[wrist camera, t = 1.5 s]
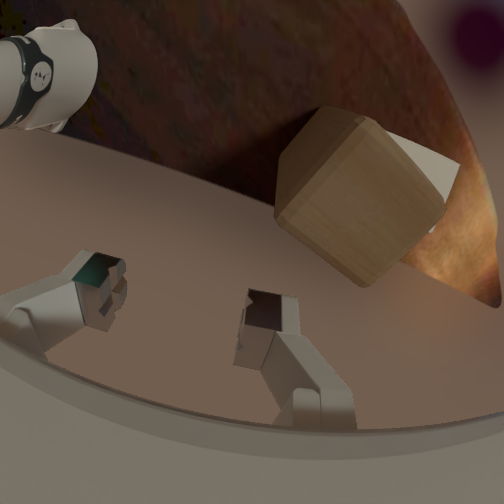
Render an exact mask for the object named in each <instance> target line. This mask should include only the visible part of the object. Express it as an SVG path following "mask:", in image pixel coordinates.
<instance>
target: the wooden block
mask: <svg viewBox="0 0 504 504" xmlns="http://www.w3.org/2000/svg"><path fill="white" fill-rule="evenodd" d="M446 210H447V208H446V205H445V202H444V198H443V197H442V195H441V194H440V193H439V191H438V190H437V189H436V188H435V186H434V185H433V184H432V183H431V181H430V180H429V179H428V178H427V177H426V175H425V174H424V173H423V172H422V171H421V169H420V168H419V167H418V166H417V165H416V164H415V162H414V161H413V160H412V159H411V158H410V157H409V156H408V155H407V153H406V152H405V151H404V150H403V149H402V148H401V147H400V146H399V145H398V144H397V143H396V142H395V141H394V139H393V138H392V137H391V136H390V135H389V134H388V133H387V132H386V131H385V130H384V129H383V128H382V127H381V126H380V125H379V124H378V123H377V122H376V121H375V120H373V119H370V118H368V117H366V116H363V115H360V114H356V113H353V112H350V111H347V110H343V109H340V108H336V107H332V106H329V105H324V106H322V107H320V108H319V109H318V111H317V112H316V113H315V114H314V115H313V116H312V118H311V119H310V120H309V121H308V122H307V123H306V125H305V126H304V127H303V128H302V129H301V130H300V132H299V133H298V134H297V135H296V136H295V138H294V139H293V140H292V141H291V142H290V143H289V145H288V146H287V147H286V148H285V149H284V151H283V152H282V153H281V154H280V157H279V163H278V175H277V186H276V198H275V209H274V218H275V220H276V221H277V223H278V225H279V226H280V227H282V228H283V229H284V230H286V231H287V232H288V233H290V234H291V235H292V236H294V237H295V238H296V239H298V240H299V241H300V242H302V243H303V244H304V245H306V246H307V247H308V248H310V249H311V250H312V251H314V252H315V253H316V254H317V255H319V256H320V257H321V258H323V259H324V260H325V261H327V262H328V263H329V264H330V265H332V266H333V267H334V268H336V269H337V270H338V271H339V272H341V273H342V274H343V275H345V276H346V277H347V278H349V279H350V280H351V281H352V282H354V283H355V284H356V285H358V286H359V287H362V288H366V287H368V286H371V285H372V284H373V283H374V282H375V281H377V280H378V279H379V278H380V277H381V276H382V275H383V274H384V273H386V272H387V271H388V270H389V269H390V268H391V267H392V266H393V265H394V264H395V263H397V262H398V261H399V260H400V259H401V258H402V257H403V256H404V255H405V254H406V253H407V252H408V251H409V250H410V249H411V248H412V247H413V246H414V245H416V244H417V243H418V242H419V241H420V240H421V239H422V238H423V237H424V236H425V235H426V234H427V233H428V232H429V231H430V230H431V229H432V228H433V227H434V226H435V225H436V224H437V223H438V221H439V220H440V219H441V218H442V217H443V216H444V214H445V212H446Z"/></svg>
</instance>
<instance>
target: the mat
mask: <svg viewBox="0 0 504 504" xmlns="http://www.w3.org/2000/svg"><path fill="white" fill-rule="evenodd" d="M386 132H387V131H386ZM387 133H388V134H389V135H390V136H391V137H392V138H393V139H394V141H395V142H396V143H397V144H398V145H399V146H400V147H401V148H402V149H403V150H404V151H405V152H406V153H407V155H408V156H409V157H410V158H411V159H412V160H413V161H414V162H415V164H416V165H417V166H418V167H419V168H420V169H421V171H422V172H423V173H424V174H425V175H426V177H427V178H428V179H429V180H430V181H431V183H432V184H433V185H434V186H435V188H436V189H437V190H438V191H439V193H440V194H441V195H442V197H443V198H444V202H446V200H447V197H448V195H449V192H450V190H451V187H452V185H453V182H454V180H455V177H456V174H457V171H458V169H459V166H460V164H458V163H456V162H454V161H452V160H450V159H448V158H446V157H444V156H442V155H440V154H438V153H436V152H434V151H432V150H430V149H427V148H425V147H423V146H421V145H419V144H416V143H414V142H412V141H409V140H407V139H405V138H402V137H400V136H397V135H395V134H392V133H390V132H387ZM434 227H435V226H434ZM434 227H433V228H432V229H431V230H430V231H429V233H432V232H433V230H434Z"/></svg>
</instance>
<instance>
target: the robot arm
mask: <svg viewBox="0 0 504 504" xmlns="http://www.w3.org/2000/svg"><path fill="white" fill-rule="evenodd" d="M63 27H64V28H63ZM97 67H98V61H97V54H96V50H95V47H94V45H93V43H92V42H91V40H90V39H89V38H88V37H87V36H85V35H84V34H83V33H82V32H81V31H80V29H79V27H78V24H77V22H76V21H75V20H74V19H68V20H65V21H63V22H61V23H58V24H56V25H54V26H52V27H38V28H36V29H35V30H34V31H31V32H30V33H28V34H26V35H25V36H24V37H22V36H11V37H7V38H3V39H1V40H0V129H3V128H8V129H14V128H18V130H24V129H25V130H31V129H35V128H40V129H43V130H46V131H50V132H53V133H57V132H60V131H61V130H62V129H63V128H64V126H65V124H66V122H67V120H68V119H69V117H70V116H71V115H73V114H74V113H75V112H76V111H78V110H79V109H80V108H81V107H82V105H83V104H84V103H85V102H86V100H87V99H88V97H89V95H90V93H91V91H92V89H93V86H94V83H95V80H96V76H97ZM51 124H52V125H51ZM125 272H126V264H125V261H124V260H123V259H120V258H116V257H112V256H109V255H106V254H102V253H98V252H94V251H91V250H87V249H84V250H81V251H80V252H79V254H77V256H76V257H75V258H74V259H73V260H72V261H71V262H70V263H69V264H68V265H67V266H66V267H65V268H64V270H63V271H62V272H61V273H60V274H59V275H58V276H57V275H52V276H49V277H47V278H44V279H42V280H39V281H37V282H34V283H31V284H29V285H26V286H24V287H22V288H19V289H17V290H14V291H12V292H9V293H7V294H4V295H2V296H0V504H504V412H499V413H494V414H490V415H486V416H481V417H476V418H471V419H466V420H460V421H454V422H448V423H441V424H434V425H425V426H416V427H404V428H390V429H357V424H356V417H355V409H354V402H353V396H352V391H351V390H350V389H349V388H348V386H347V385H346V384H345V383H344V382H343V381H342V379H341V378H340V377H339V376H338V375H337V373H336V372H335V371H334V370H333V369H332V368H331V366H330V365H329V364H328V363H327V362H326V360H325V359H324V358H323V357H322V356H321V354H320V353H319V352H318V351H317V350H316V348H315V347H314V346H313V345H312V344H311V342H310V341H309V340H308V339H307V338H306V337H305V336H302V335H301V334H300V320H299V307H298V298H297V297H294V296H289V295H283V294H281V295H279V294H275V293H269V292H264V291H259V290H254V289H248V291H247V295H246V299H245V306H244V309H243V311H242V315H241V320H240V324H239V329H238V335H237V338H238V340H237V344H236V348H235V355H234V362H233V365H236V366H241V367H245V368H250V369H255V370H260V372H261V374H262V376H263V378H264V380H265V382H266V383H267V385H268V387H269V389H270V391H271V393H272V395H273V397H274V398H275V400H276V402H277V404H278V406H279V407H280V409H281V411H280V413H279V414H278V416H277V417H276V419H275V420H274V422H273V423H272V425H270V424H262V423H254V422H248V421H241V420H235V419H229V418H224V417H218V416H213V415H208V414H204V413H199V412H194V411H190V410H186V409H182V408H177V407H173V406H170V405H166V404H162V403H158V402H155V401H152V400H148V399H145V398H142V397H138V396H135V395H132V394H129V393H126V392H123V391H120V390H117V389H114V388H111V387H108V386H106V385H103V384H100V383H98V382H95V381H93V380H90V379H87V378H85V377H82V376H80V375H78V374H75V373H73V372H71V371H68V370H66V369H64V368H61V367H59V366H57V365H55V364H53V363H51V362H49V361H48V359H47V357H46V355H45V352H46V351H47V350H49V349H50V348H52V347H54V346H55V345H57V344H58V343H60V342H61V341H63V340H64V339H66V338H68V337H69V336H71V335H72V334H74V333H75V332H77V331H78V330H80V329H81V328H83V327H84V326H85V325H86V326H89V327H92V328H95V329H99V330H102V331H105V332H108V330H109V328H110V326H111V324H112V323H113V321H114V319H115V311H117V310H119V309H121V307H122V305H123V304H124V301H125V298H126V295H127V281H126V280H125V278H124V277H123V274H124V273H125Z"/></svg>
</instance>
